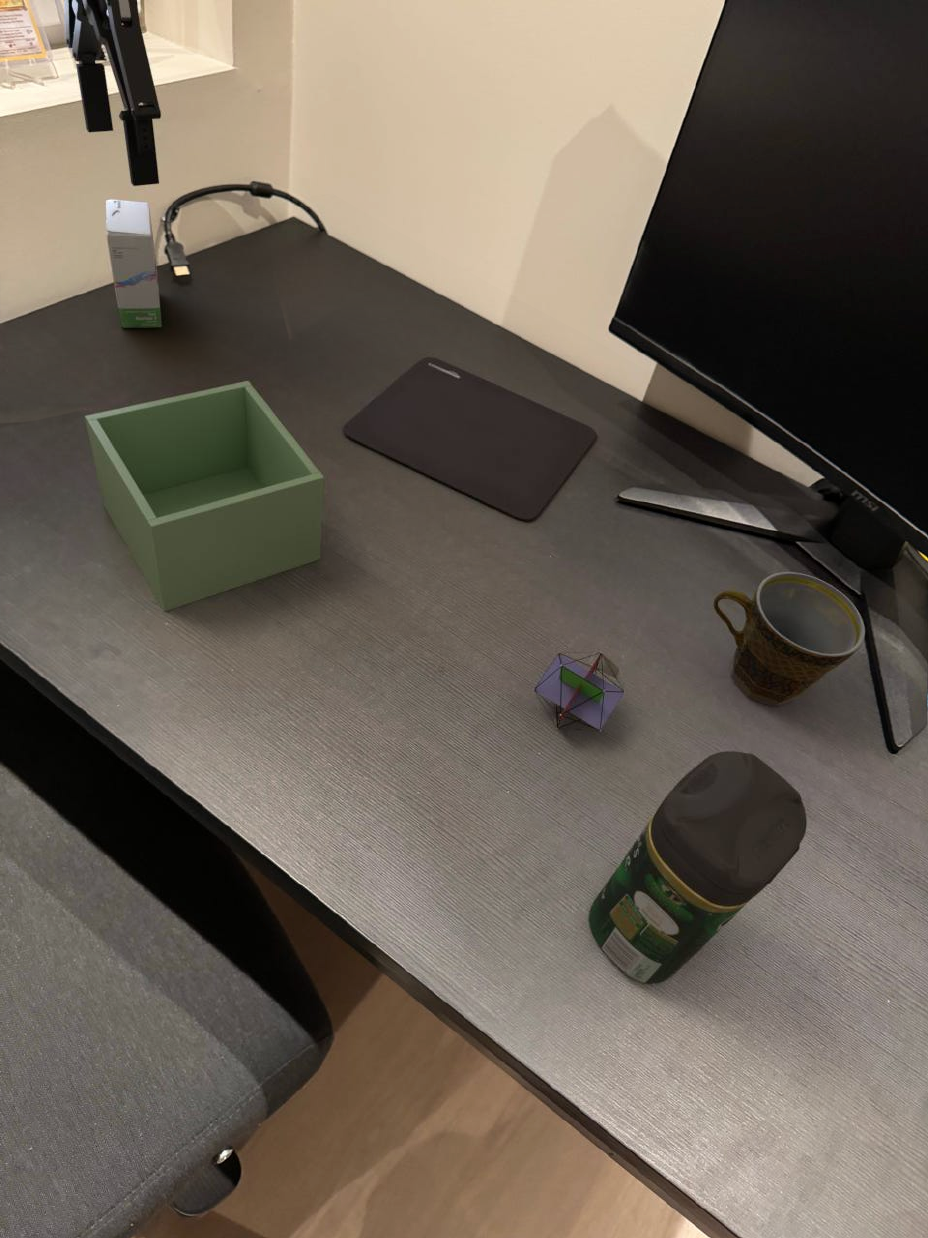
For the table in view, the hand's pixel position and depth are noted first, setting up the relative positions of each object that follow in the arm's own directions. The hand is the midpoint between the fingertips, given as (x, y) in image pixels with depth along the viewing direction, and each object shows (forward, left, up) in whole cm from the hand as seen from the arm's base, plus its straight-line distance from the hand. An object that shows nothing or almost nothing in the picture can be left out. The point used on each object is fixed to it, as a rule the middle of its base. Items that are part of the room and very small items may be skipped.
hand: (121, 156), depth 92 cm
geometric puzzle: (+74, +11, -19) cm, 77 cm away
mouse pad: (+37, +26, -18) cm, 49 cm away
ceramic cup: (+79, +30, -19) cm, 86 cm away
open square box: (+40, -8, -18) cm, 45 cm away
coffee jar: (+92, +4, -18) cm, 94 cm away
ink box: (0, 0, -19) cm, 19 cm away
